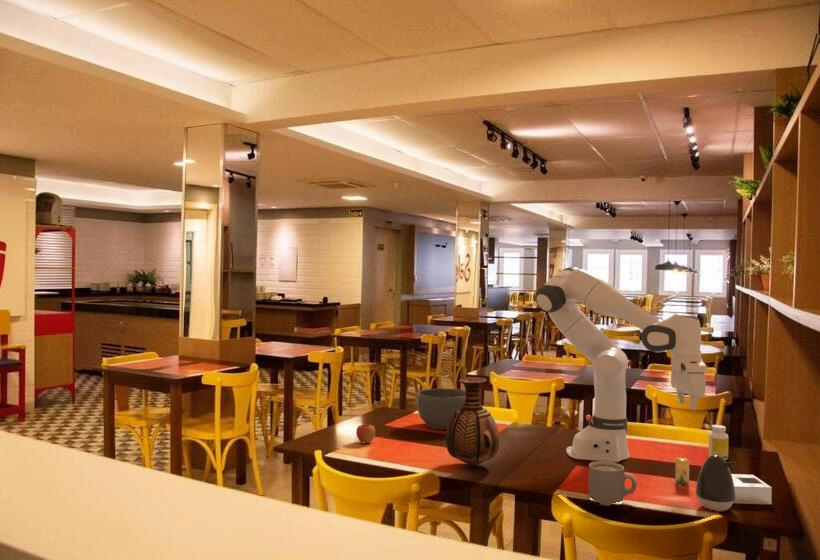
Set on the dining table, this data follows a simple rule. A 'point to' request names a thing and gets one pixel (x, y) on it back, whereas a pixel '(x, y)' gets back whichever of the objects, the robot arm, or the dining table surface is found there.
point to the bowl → (439, 405)
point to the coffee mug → (609, 482)
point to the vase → (472, 428)
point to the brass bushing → (682, 472)
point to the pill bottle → (718, 442)
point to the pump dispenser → (716, 484)
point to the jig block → (751, 490)
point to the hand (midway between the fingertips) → (687, 406)
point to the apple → (365, 433)
